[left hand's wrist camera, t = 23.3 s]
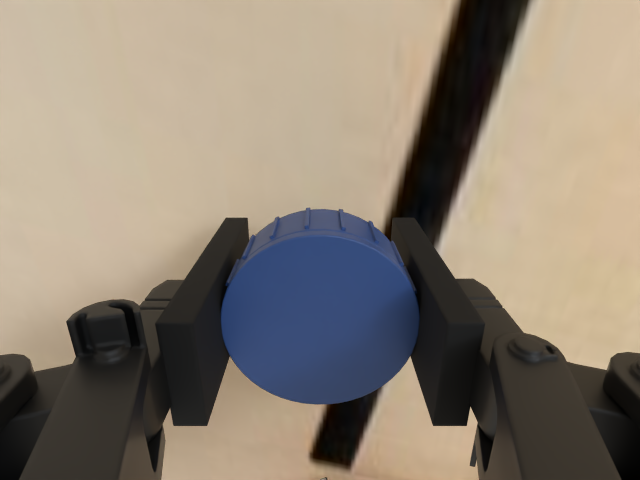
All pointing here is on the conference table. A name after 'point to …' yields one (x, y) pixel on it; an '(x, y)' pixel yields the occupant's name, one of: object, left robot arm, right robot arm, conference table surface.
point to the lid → (320, 308)
